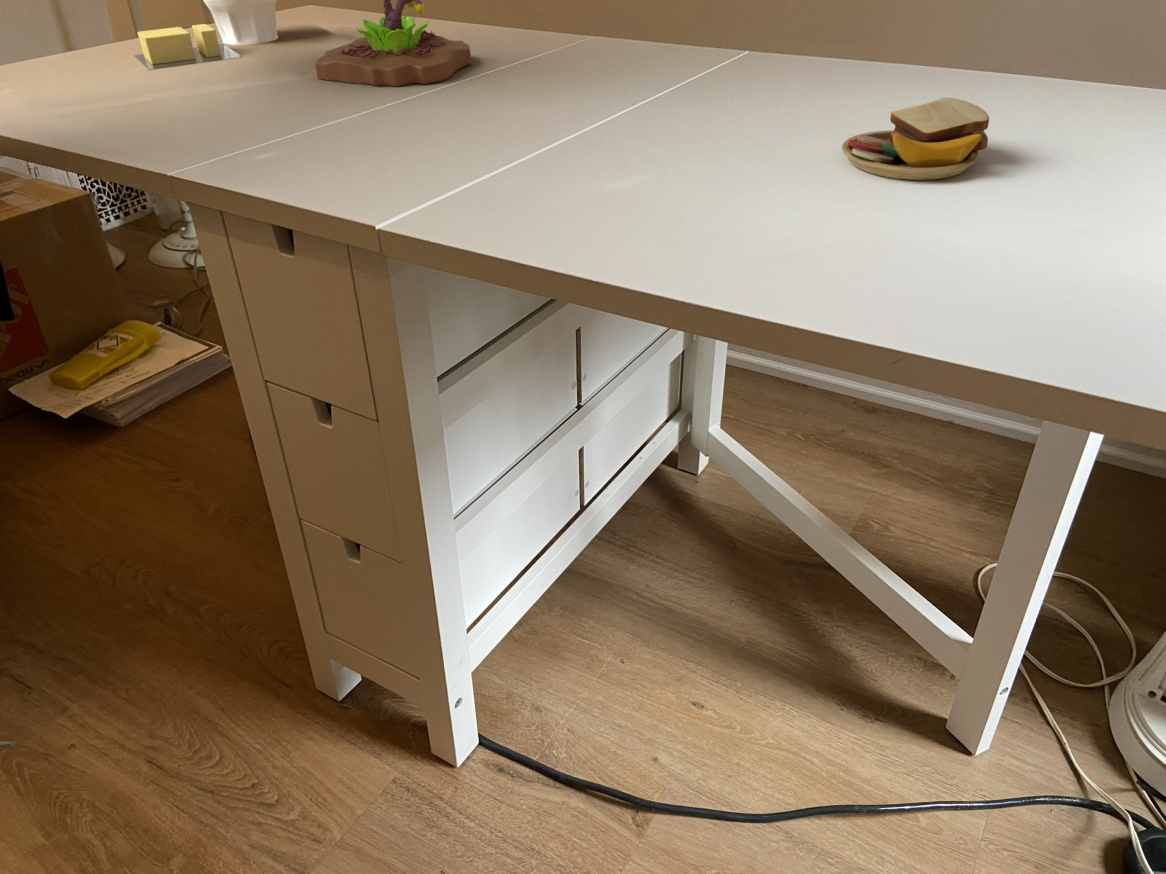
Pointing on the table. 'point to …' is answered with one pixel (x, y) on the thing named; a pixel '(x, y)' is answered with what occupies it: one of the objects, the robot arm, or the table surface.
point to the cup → (244, 20)
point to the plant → (394, 53)
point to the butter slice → (206, 40)
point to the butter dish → (200, 58)
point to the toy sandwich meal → (923, 142)
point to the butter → (166, 45)
